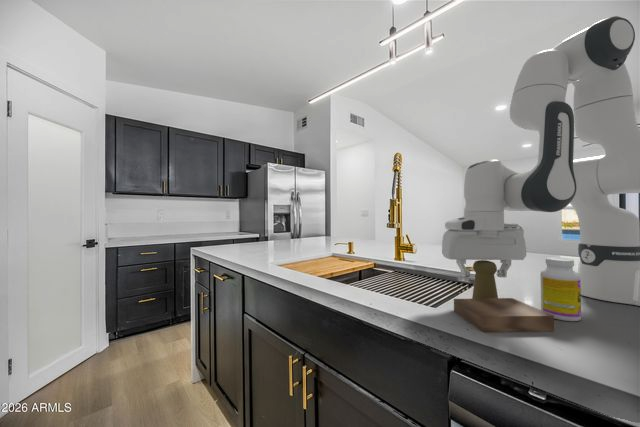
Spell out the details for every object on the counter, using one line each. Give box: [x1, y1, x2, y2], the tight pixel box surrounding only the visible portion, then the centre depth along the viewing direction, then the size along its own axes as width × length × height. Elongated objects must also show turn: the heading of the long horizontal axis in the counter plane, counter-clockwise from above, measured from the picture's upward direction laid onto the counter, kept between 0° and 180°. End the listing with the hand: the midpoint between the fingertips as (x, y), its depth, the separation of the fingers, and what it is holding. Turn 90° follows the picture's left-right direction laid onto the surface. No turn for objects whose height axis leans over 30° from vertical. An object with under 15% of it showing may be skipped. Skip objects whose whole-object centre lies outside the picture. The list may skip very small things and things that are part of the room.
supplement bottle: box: [540, 257, 582, 322], centre depth 59 cm, size 7×7×13 cm
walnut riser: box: [453, 297, 555, 333], centre depth 57 cm, size 14×11×3 cm
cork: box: [471, 260, 499, 299], centre depth 68 cm, size 6×6×11 cm
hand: (483, 277), depth 68 cm, fingers open, 8 cm apart
